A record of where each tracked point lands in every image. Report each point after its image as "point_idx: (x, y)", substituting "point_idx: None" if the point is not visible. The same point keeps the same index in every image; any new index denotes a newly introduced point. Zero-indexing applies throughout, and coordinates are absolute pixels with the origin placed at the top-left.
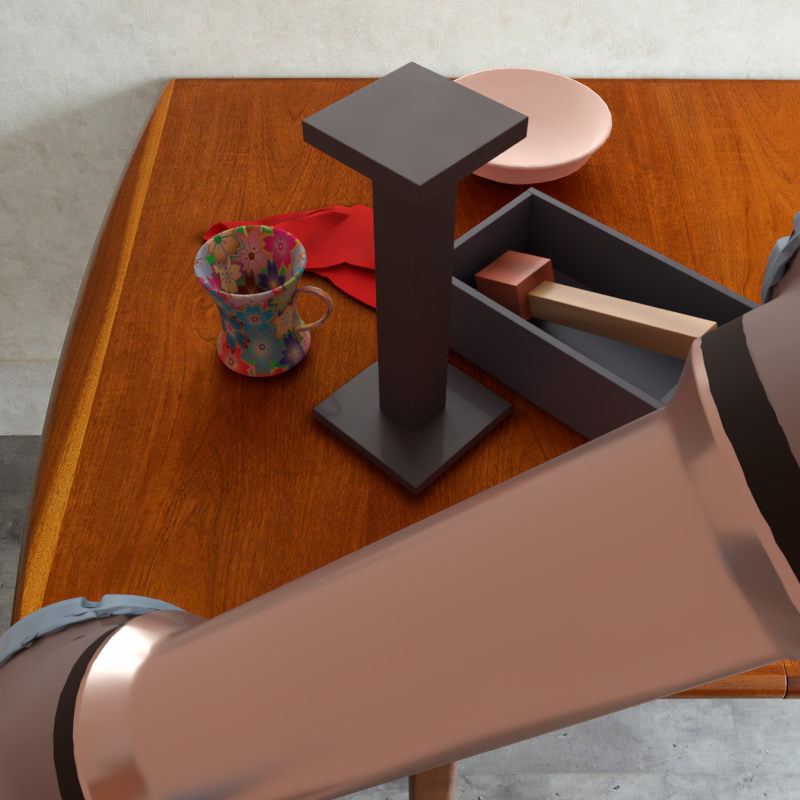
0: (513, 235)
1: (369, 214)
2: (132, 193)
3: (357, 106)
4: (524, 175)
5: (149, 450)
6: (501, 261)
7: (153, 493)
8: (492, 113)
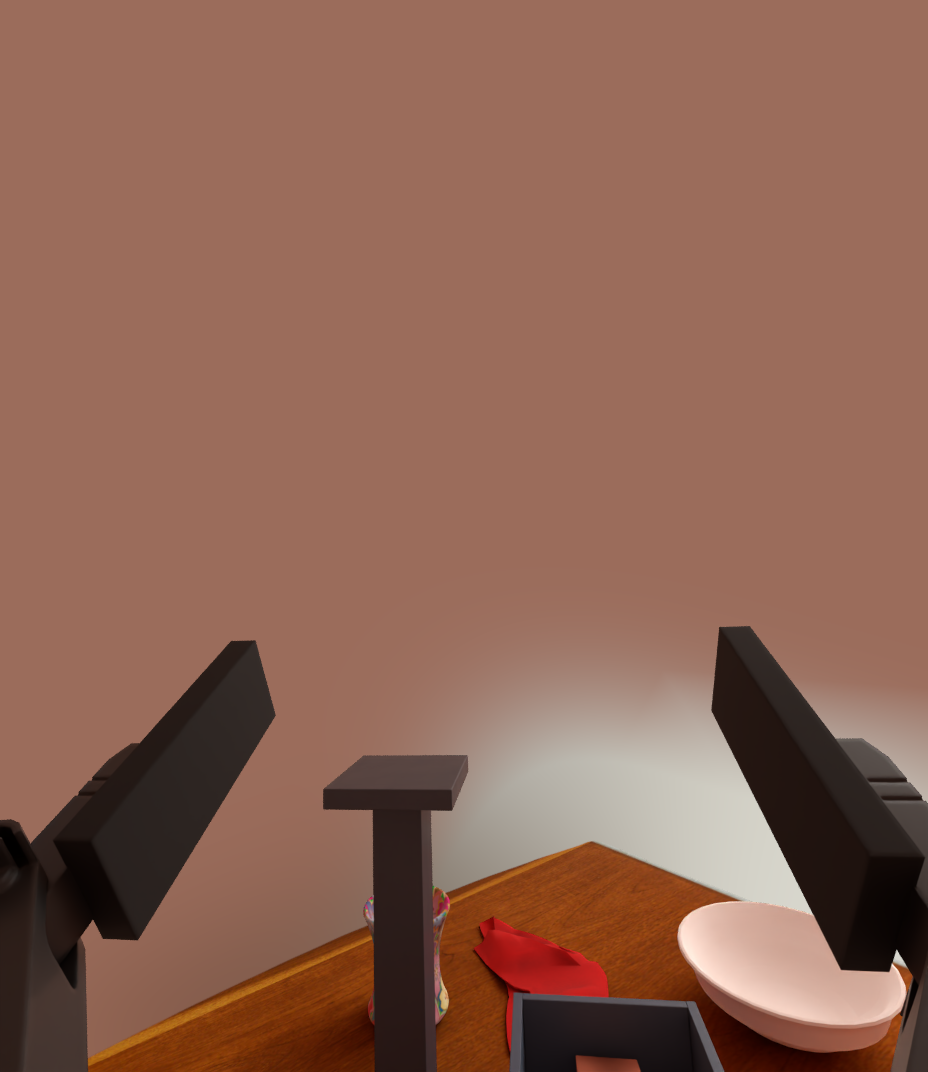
0: (662, 1053)
1: (594, 973)
2: (485, 882)
3: (395, 759)
4: (738, 1009)
5: (271, 1020)
6: (612, 1061)
7: (230, 1047)
8: (438, 781)
